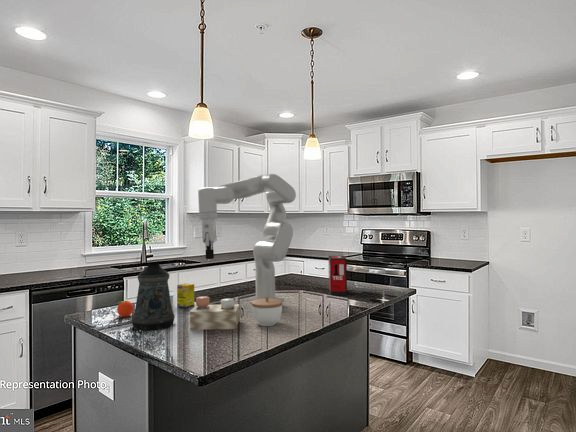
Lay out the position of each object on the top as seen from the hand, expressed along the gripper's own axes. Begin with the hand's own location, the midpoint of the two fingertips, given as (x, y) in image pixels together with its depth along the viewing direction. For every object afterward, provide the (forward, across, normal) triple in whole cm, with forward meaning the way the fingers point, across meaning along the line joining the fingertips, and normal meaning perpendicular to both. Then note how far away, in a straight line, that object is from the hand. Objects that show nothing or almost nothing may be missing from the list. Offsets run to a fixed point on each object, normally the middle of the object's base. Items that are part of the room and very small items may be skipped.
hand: (209, 258), depth 172 cm
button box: (+26, -11, -3) cm, 28 cm away
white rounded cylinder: (+25, -11, -8) cm, 28 cm away
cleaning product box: (+29, +52, -64) cm, 87 cm away
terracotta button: (+23, -11, +2) cm, 26 cm away
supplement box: (+26, +23, +16) cm, 39 cm away
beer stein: (+25, -8, +23) cm, 35 cm away
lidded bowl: (+26, -11, -24) cm, 37 cm away
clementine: (+25, +6, +40) cm, 47 cm away
